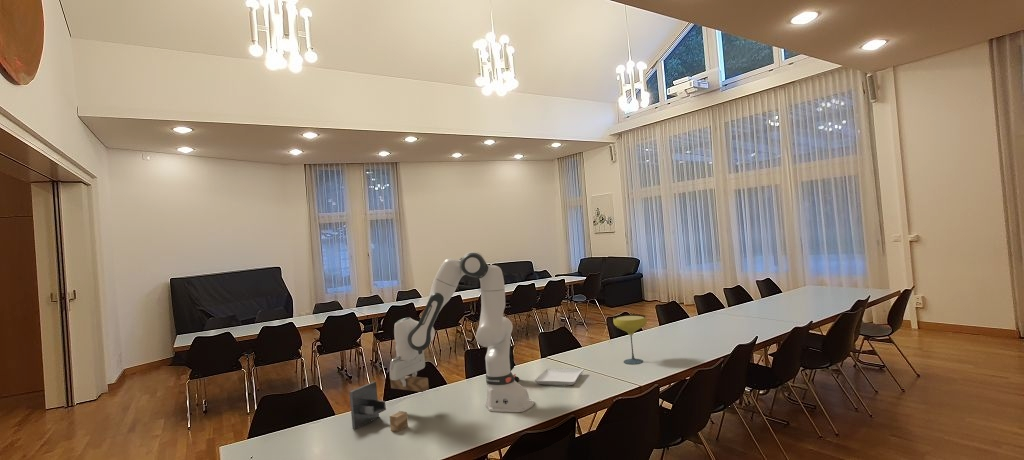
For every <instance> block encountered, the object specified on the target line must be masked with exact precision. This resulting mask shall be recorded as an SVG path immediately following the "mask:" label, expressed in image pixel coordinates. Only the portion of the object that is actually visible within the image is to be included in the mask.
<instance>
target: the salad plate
mask: <svg viewBox="0 0 1024 460" xmlns="http://www.w3.org/2000/svg"><path fill="white" fill-rule="evenodd" d="M584 371H585V368H546V369H545V370H543V371H542V372H541V373H540V374H539V375H538V376H537V377H536V378H535V379H534V382H535V383H536V384H539V385H547V386H548V385H549V386H572V385H575V383H576V381H577V380H578V378H579V377H580V376H581V375H582V374H583V372H584Z"/></svg>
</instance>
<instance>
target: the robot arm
mask: <svg viewBox="0 0 1024 460" xmlns="http://www.w3.org/2000/svg"><path fill="white" fill-rule="evenodd" d="M465 275H466V276H468V277H472V278H477V279H479V282H480V283H479V284H480V300H481V301H480V304H481V307H480V316H479V323H478V327H477V330H476V332H475V338H476V342H477V343H478V344H479V345H480V346H481V347H484V348H487V349H486V354H485V357H484V360H485V370H486V373H485V380H486V385H487V386H486V387H487V390H486V391H487V393H486V401H485V402H486V403H485V408H487V409H488V411H489V412H500V413H501V412H502V413H522V412H526V411H528V410H530V409H531V408H532V407H533V406H534V405H535V400H534V399H533V398H530V396H529V392H528V390H527V388H525V387H524V386H522V385H521V384H520V383H519V382H516V381H515V379H514V377H516V376H517V374H516V373H514V374H513V373H512V370H511V371H510V366H511V365H510V359H509V351H510V340H511V337H512V332H513V328H514V327H513V326H514V325H513V323H512V321H511V320H510V319H509V318H508V317H506V316H504V311H505V308H506V290H505V288H506V287H505V280H504V279H505V278H504V274H503V271H502V268H501V267H500V266H498V265H494V264H490V265H489V264H488V263H487V262H486V259H485V257H484V255H483V254H481V253H480V252H477V251H474V250H473V251H469V252H467V253H465V254H464V255H463V256H462V257H460V259H456V258H452V257H451V258H450V257H449V258H446V259H445V260H443V261H442V264H441V265H440V266H439V268H438V270H437V272H436V273H435V276H434V278H433V281H432V282H431V283H432V284H431V287H430V291H429V296H428V299H427V302H426V306H425V308H424V310H423V312H422V314H421V317H420V319H419V321H418V320H415V319H413V318H411V317H410V316H409V317H405V318H401V319H399V320H397V321H396V322H395V323H394V328H393V335H394V342H395V354H396V355H395V358H392V359H391V361H390V363H389V380H390V379H391V380H399V379H400V380H401V382H402V385H403V387H405V386H407V385H408V384H407V382H406V381H405V376H414V377H417V375H418V372H419V371H421V370H423V369H425V367H426V361H425V360H426V359H425V358H426V357H425V355H424V353H425V350H426V349H428V348H429V346H430V345H431V343H432V341H433V340H434V338H435V335H436V330H435V328H434V324H435V322H436V320H437V318H438V315H439V313H440V312H441V310H442V309H443V307H444V306H445V305H446V304H447V303H448V302H449V301H450V299H452V297H453V296H454V293H455V292H456V289H457V288H458V286H459V283H460V280H461V279H462V278H463V276H465ZM511 341H512V340H511Z"/></svg>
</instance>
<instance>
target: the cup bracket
mask: <svg viewBox="0 0 1024 460" xmlns="http://www.w3.org/2000/svg"><path fill="white" fill-rule="evenodd" d="M377 387H378V386H377V381H371V382H369V383H367V384H364V385H362V386H359V387H357V388H355V389H352V390H350V391H349V403H350V414H351V424H352V425H351V426H352V429H353V430H356V429H358V428H360V427H362V426H363V425H366V424H368V423H370V422H372V421H374V420H376V419H378V418H380V413H382V412H385V411H386V410H387V408H386V407H387V406H386V401H385V400H380V399H378V389H377ZM377 417H378V418H377ZM373 419H374V420H373ZM371 420H372V421H371ZM369 421H370V422H369Z"/></svg>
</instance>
